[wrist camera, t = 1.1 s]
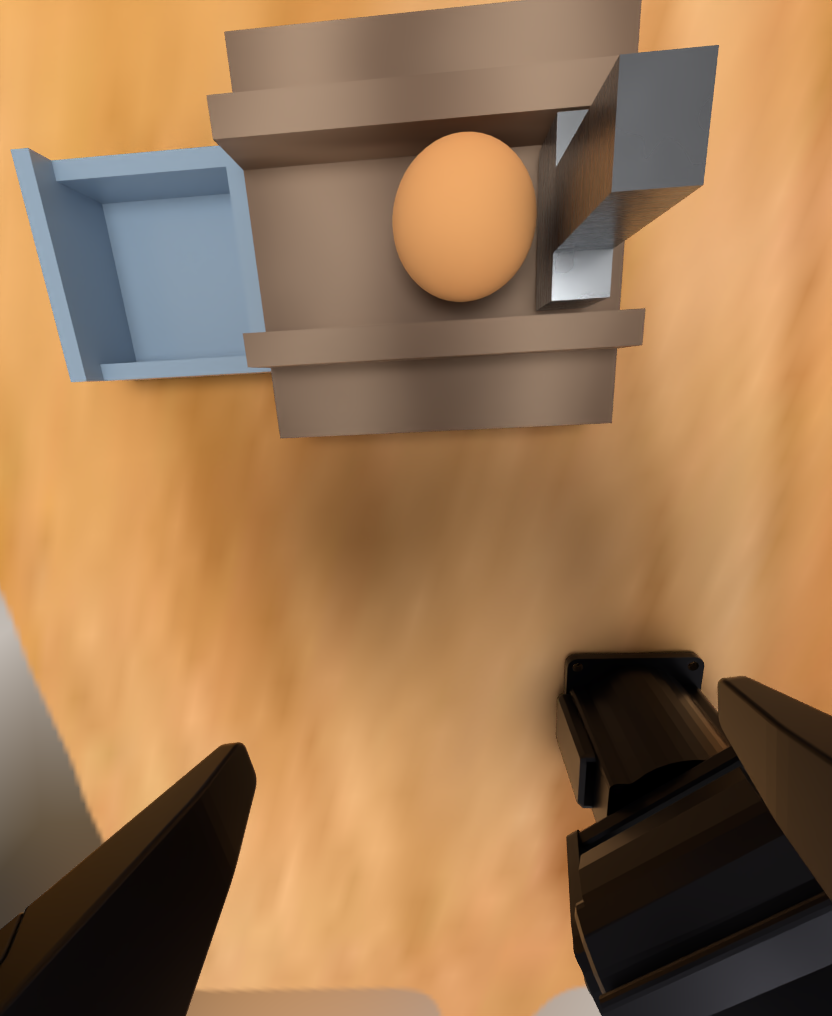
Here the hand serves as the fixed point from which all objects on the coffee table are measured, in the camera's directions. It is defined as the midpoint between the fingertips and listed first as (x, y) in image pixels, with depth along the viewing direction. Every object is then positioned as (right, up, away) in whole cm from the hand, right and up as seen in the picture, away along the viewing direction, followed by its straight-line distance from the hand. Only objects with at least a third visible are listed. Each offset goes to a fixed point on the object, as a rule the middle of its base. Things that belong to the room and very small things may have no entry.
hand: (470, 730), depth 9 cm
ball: (0, +12, +4) cm, 13 cm away
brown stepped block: (0, +14, +9) cm, 17 cm away
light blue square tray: (-10, +13, +10) cm, 20 cm away
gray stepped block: (+4, +13, +6) cm, 14 cm away
